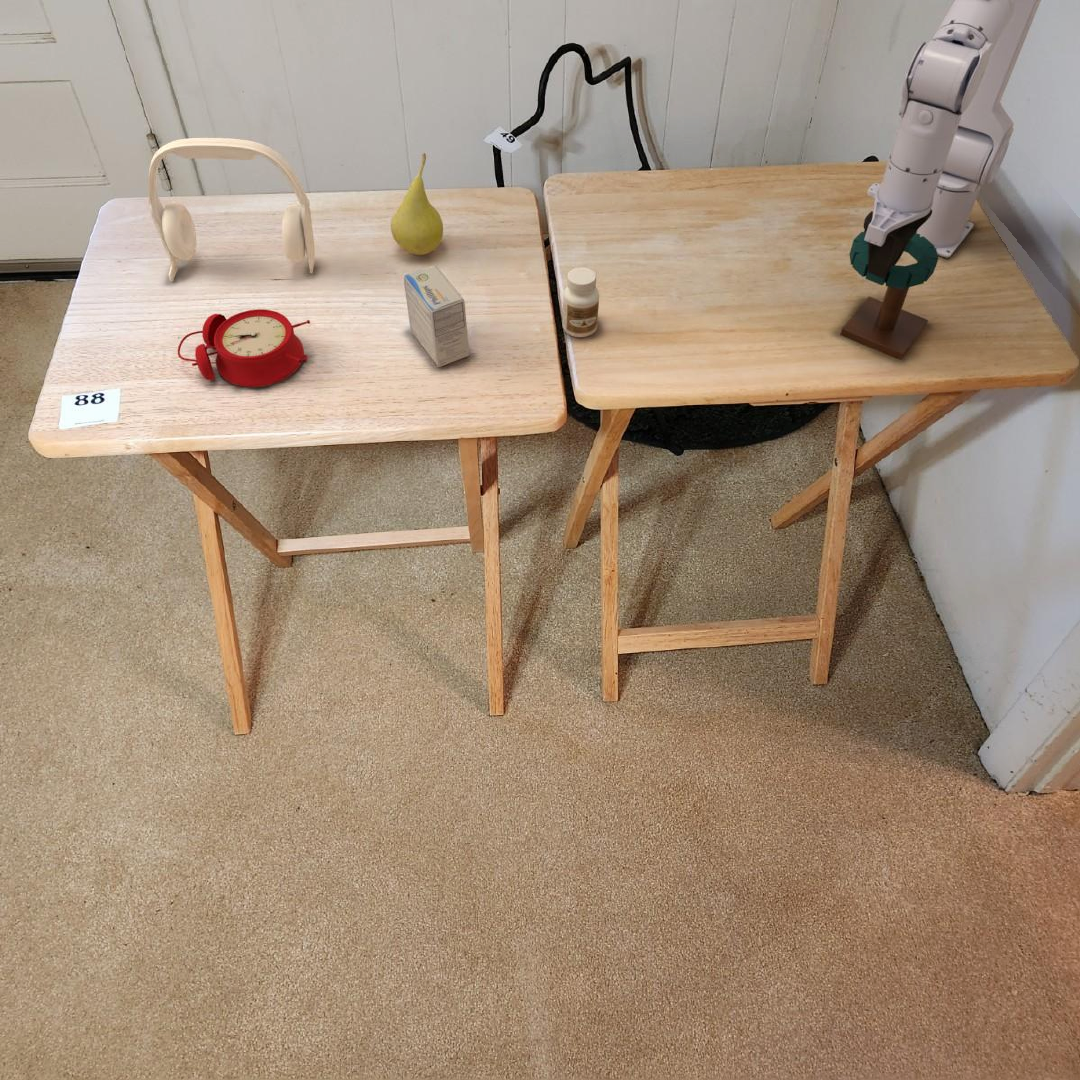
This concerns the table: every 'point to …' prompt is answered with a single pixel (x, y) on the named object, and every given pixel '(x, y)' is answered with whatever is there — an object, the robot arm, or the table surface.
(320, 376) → the table surface
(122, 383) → the table surface
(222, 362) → the alarm clock
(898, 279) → the ring
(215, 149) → the headset
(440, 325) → the medicine box
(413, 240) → the fruit
